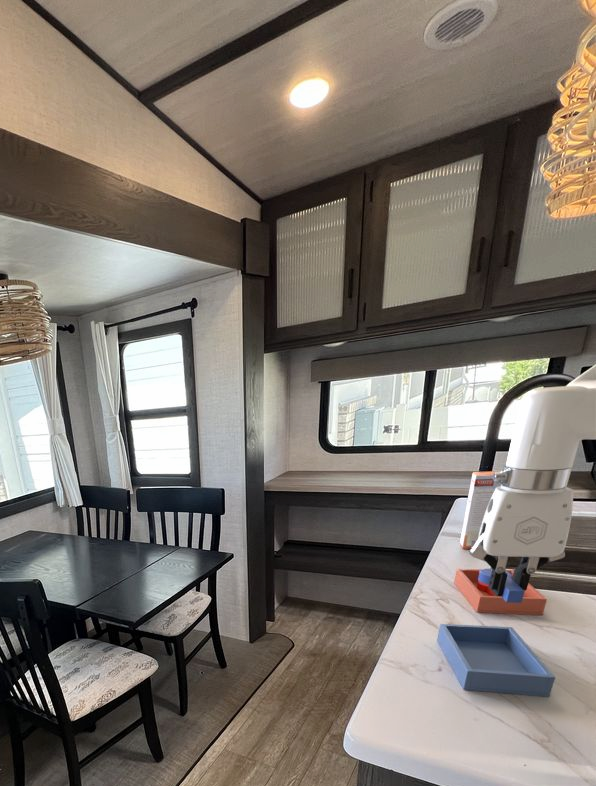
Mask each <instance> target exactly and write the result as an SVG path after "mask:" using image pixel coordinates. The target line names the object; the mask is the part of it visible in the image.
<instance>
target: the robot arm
mask: <svg viewBox="0 0 596 786" xmlns="http://www.w3.org/2000/svg"><path fill="white" fill-rule="evenodd" d="M517 410H518V411H517V414H516V418H515V419H516V420H515V424H514V427H513V428H514V429H513V433H512V436H511V442H510V445H509V450H508V455H507V459H506V463H505V465H504V466H503V469H502V470H499V471H500V472H496V471H493V472H494V473H493V476H492V480H493V481H498V482H500V484H502V485H501V486H499V487H496V489H495V491H494V493H493V495H492V497H491V500H490V502H489V504H488V507H487V509H486V512H485V515H484V518H483V521H482V525H481V528H480V532H479V536H478V540H477V542H476V543H475V544H474V546H473V547H472V549H469V554H470V556H471V557H473V558H475V559H477V560H480V561H483V562H485V563H487V565H488V566H490V567H491V569H492V572H491V576H490V581H489V588H490V589H491V591H492V592H493V593H494V594H495V595H496V596H498V597H501V596H502V594H503V590H504V586H505V583H506V580H507V574H506V573H505V570H506V567H507V563H508V559H509V557H510V558H513V557H515V558H520V562H519V565H518V567H517V566H516V567H515V568H514V569H513V570H514V573H513V577H512V580H513V581H514V582H515V583H516V584H517V585H518V586H520V587H521V588H522V589H523V590H524V591H525V590H526V589H527V586H528V583H529V582H530V579H531V575H533V574H535V573H536V572H537V570H538V569H540V568H542V567H544V566H545V565H547V564H548V563H549V562H554V561H558V560H562V559H564V558H565V556H566V552H565V548H566V546H567V543H568V539H569V533H570V528H571V522H572V515H573V505H574V489H573V488H570V487H568V483H569V479H570V476H571V472H572V469H573V466H574V463H575V458H576V455H577V452H578V448H579V444H580V441H583V440H595V441H596V364H594V365H593V366H592V367H590V368H588V369H587V370H586V371H584V372H583V373H581V374H580V375H578V376H577V377H576V378H574V379H573V380H571V381H570V382H569V383H567V384H566V385H564V386H563V385H561V386H549V387H548V386H546V387H539V388H534V389H531V390H529V391H527V392H526V393H525V394H524V395H523V396H522V398H521V399H520V402H519V406H518V409H517ZM529 584H530V583H529Z"/></svg>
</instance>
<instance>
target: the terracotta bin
mask: <svg viewBox="0 0 596 786" xmlns="http://www.w3.org/2000/svg"><path fill="white" fill-rule="evenodd" d="M482 569H483V568H482ZM482 569H481V568H478V569H477V568H475V569H474V568H457V569H456V571H455V576H454V581H453V583H454V585H455V586H456V588H458V590H459V591H460V592H461V594H462V595H463V596H464V598H465V599H466V600H467V602H468V603H469V604H470V606H471V607H472V608H473V609H474V611H475V612H476V613H480V614H505V615H506V614H507V615H508V614H509V615H529V616H530V615H531V616H543V615H544V611H545V608H546V604H547V601H548V600H547V598H546V597H545V596H544V595H543V594H542V593H541V592H540V591H538V589H536V588H535V587H534V586H533V585H531V584H530V583H528V586H527V589H526V590H525V592H524V596H523V599H522V603H512V602H506V601H505V600H504V599H503V598H502V597H498V596H489V595H488V593H487V592H483V591H480V590H478V589H477V584H478V581H479V580H478V577H479V573H480V570H482ZM505 571H507V572H509V573H511V579H512V577H513V573H514V569H505Z"/></svg>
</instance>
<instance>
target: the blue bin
mask: <svg viewBox="0 0 596 786" xmlns="http://www.w3.org/2000/svg"><path fill="white" fill-rule="evenodd" d="M437 632H438V633H437V638H436V641H437V643H438V645H439V647H440V648H441V651H442V652H443V655H444V656H445V658H446V660H447V662H448V664H449V665H450V668H451V669H452V671H453V672H454V675H455V676H456V678H457V680H458V683H459V684H460V686H461V688H462V690H463V691H473V692H485V693H499V694H511V695H521V696H522V695H524V696H532V697H533V696H535V697H546V698H550V696H551V693H552V689H553V687H554V683H555V680H556V676H555V675H554V674H553V673H552V671H551V670H549V668H548V667H547V666H546V665H545V663H544V662H543V661H542V660H541V658H539V657H538V655H537V654H536V653H535V652H534V651H533V650H532V648H531V647H530V646H529V645H528V644H527V642H525V640H524V639H523V638H522V637H521V636H520V634H518V632H517V631H516V630H515V629H514V628H513V627H512V626H497V625H476V624H475V625H474V624H472V625H471V624H454V623H453V624H452V623H451V624H450V623H439V628H438V631H437Z"/></svg>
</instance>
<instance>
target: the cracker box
mask: <svg viewBox="0 0 596 786" xmlns="http://www.w3.org/2000/svg"><path fill="white" fill-rule="evenodd" d="M500 471H501V470H498V471H497V470H496V471H473V472H472V474H471V480H470V486H469V490H468V496H467V502H466V508H465V513H464V519H463V523H462V524H463V525H462V530H461V534H460V541H459V544H460V546H461V548H462V549H463V550H464V549H465V550H471V549H472V547H473V546H474V544H475V543H476V542H477V540H478V536H479V532H480V528H481V525H482V521H483V518H484V515H485V512H486V509H487V507H488V504H489V502H490V500H491V497H492V495H493V493H494V491H495V489H496V487H499V486H501V485H502V484H500V482H498V481H493V480H492V476H493V473H494V472H500Z"/></svg>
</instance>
